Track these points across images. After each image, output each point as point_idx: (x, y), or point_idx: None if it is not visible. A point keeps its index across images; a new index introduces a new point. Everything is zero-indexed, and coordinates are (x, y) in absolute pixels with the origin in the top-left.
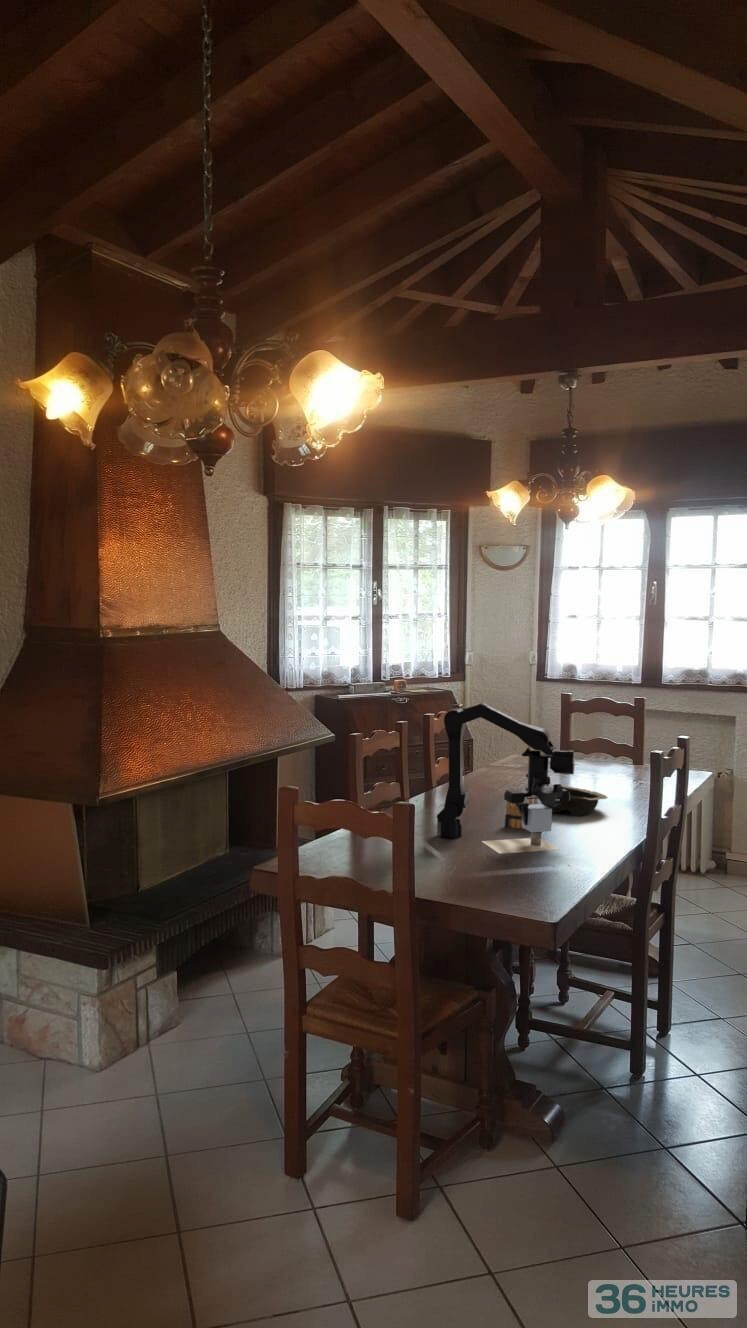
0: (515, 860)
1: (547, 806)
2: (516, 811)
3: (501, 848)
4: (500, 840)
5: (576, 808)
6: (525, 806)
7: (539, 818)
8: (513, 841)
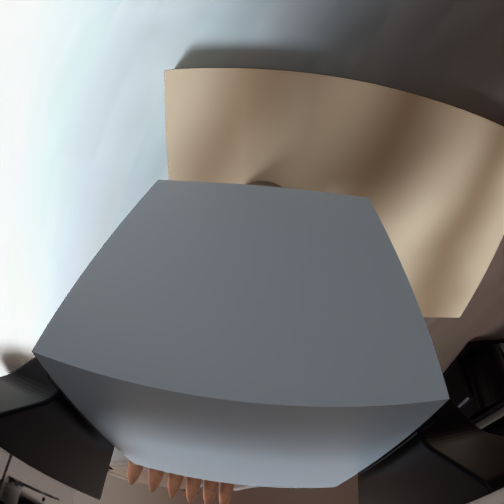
0: (492, 61)
1: (90, 426)
2: None
3: (482, 206)
4: None
5: None
6: (496, 451)
7: (285, 276)
8: None
